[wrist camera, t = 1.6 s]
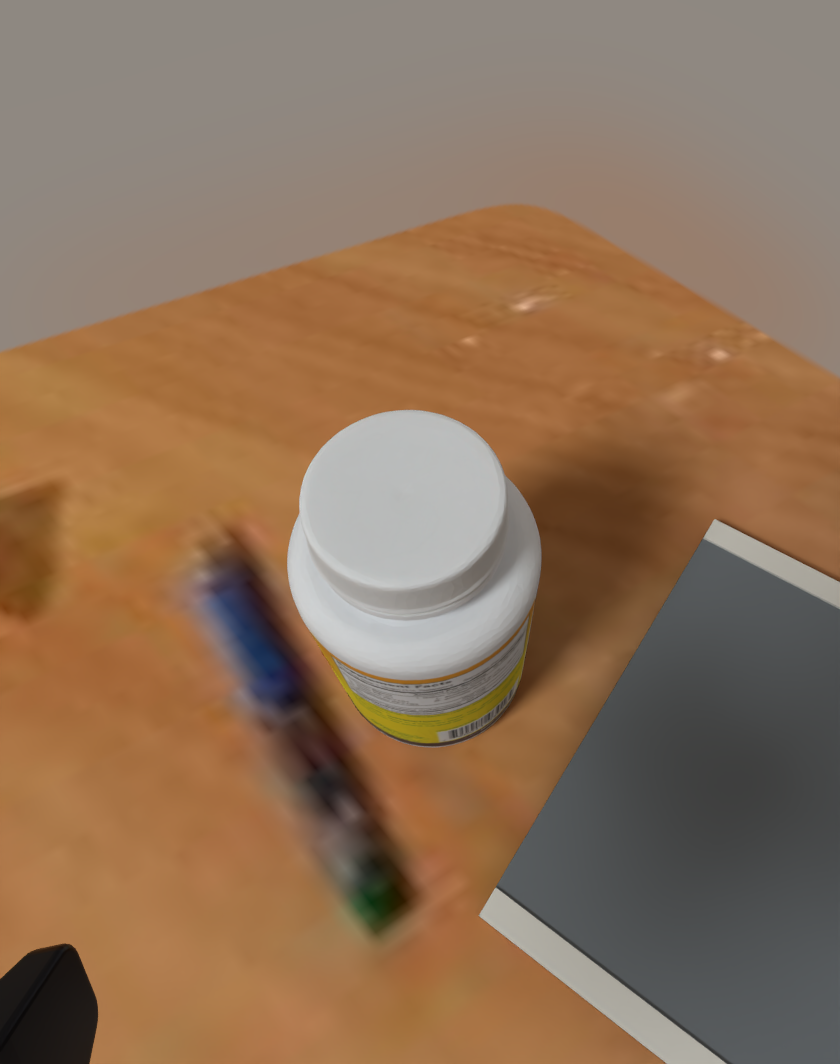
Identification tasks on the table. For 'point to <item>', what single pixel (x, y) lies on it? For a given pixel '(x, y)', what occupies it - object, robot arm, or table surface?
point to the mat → (703, 825)
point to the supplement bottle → (417, 574)
